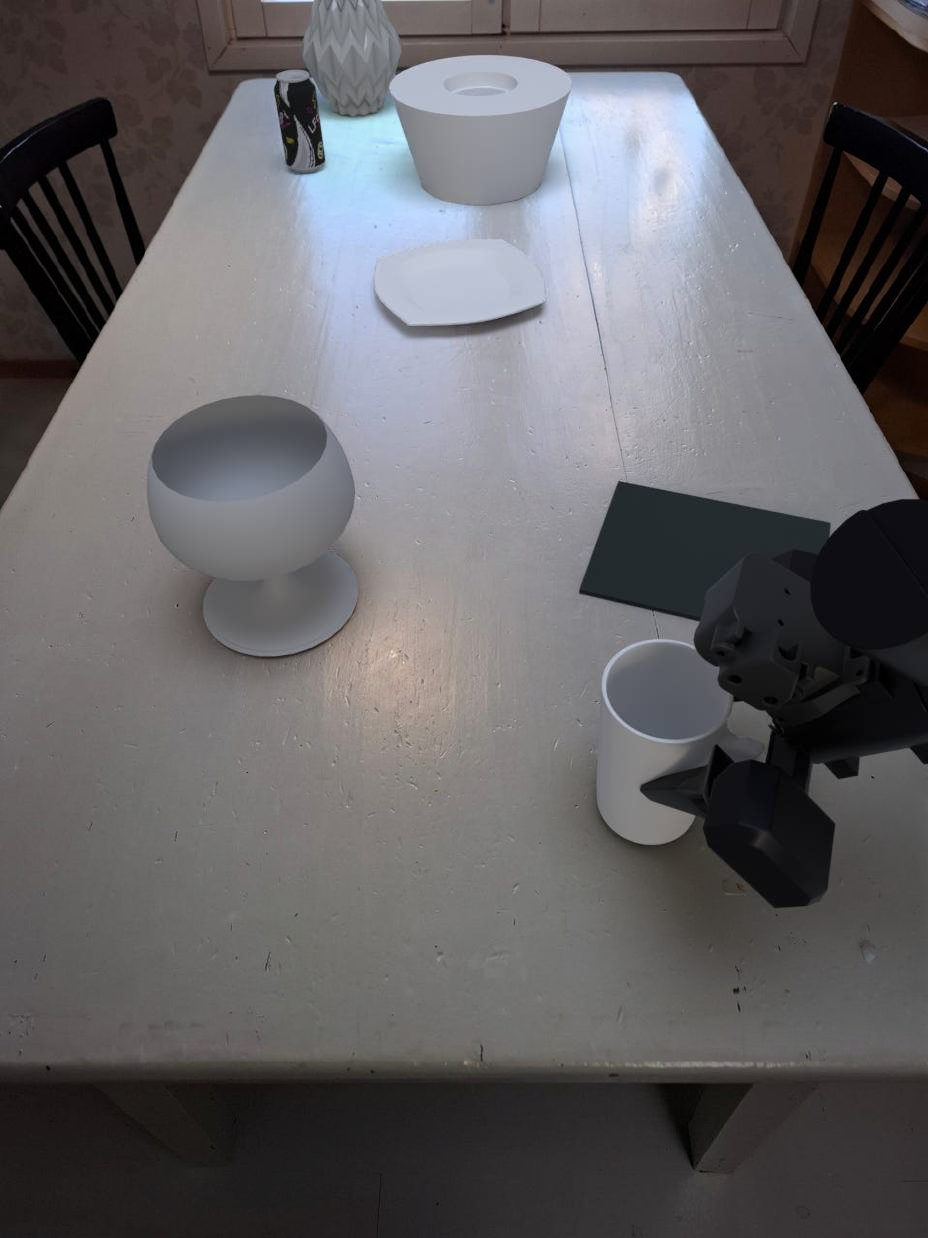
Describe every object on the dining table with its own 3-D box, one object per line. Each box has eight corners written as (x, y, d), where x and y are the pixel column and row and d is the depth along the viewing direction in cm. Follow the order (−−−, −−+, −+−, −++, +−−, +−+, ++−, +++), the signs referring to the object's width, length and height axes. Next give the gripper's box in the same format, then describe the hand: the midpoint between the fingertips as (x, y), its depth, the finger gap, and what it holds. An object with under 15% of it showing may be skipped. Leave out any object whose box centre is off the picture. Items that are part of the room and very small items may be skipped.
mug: (571, 811, 54) (576, 701, 45) (626, 737, 57) (641, 620, 48) (719, 902, 49) (759, 800, 40) (769, 815, 53) (816, 703, 43)
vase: (411, 121, 137) (402, -21, 123) (308, 129, 135) (288, -13, 122) (402, 88, 147) (393, -46, 134) (307, 95, 146) (288, -39, 132)
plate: (566, 321, 95) (567, 304, 93) (396, 350, 91) (395, 334, 90) (511, 245, 107) (511, 230, 105) (360, 269, 104) (358, 253, 102)
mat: (829, 526, 72) (830, 522, 71) (817, 648, 63) (818, 644, 63) (618, 484, 76) (618, 480, 76) (579, 592, 67) (579, 589, 67)
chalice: (407, 600, 67) (389, 444, 56) (258, 701, 61) (205, 549, 50) (301, 516, 74) (267, 362, 63) (158, 599, 68) (92, 445, 56)
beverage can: (316, 176, 123) (302, 82, 114) (280, 173, 124) (264, 79, 115) (332, 161, 126) (320, 68, 117) (297, 158, 128) (282, 66, 119)
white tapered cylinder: (568, 148, 128) (574, 55, 119) (563, 217, 112) (570, 116, 103) (410, 145, 130) (404, 54, 121) (383, 213, 114) (374, 114, 105)
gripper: (858, 422, 40) (612, 542, 52) (811, 730, 29) (509, 798, 40) (974, 577, 44) (720, 657, 55) (972, 904, 33) (654, 921, 44)
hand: (659, 743), depth 49 cm, fingers closed on mug, 6 cm apart
